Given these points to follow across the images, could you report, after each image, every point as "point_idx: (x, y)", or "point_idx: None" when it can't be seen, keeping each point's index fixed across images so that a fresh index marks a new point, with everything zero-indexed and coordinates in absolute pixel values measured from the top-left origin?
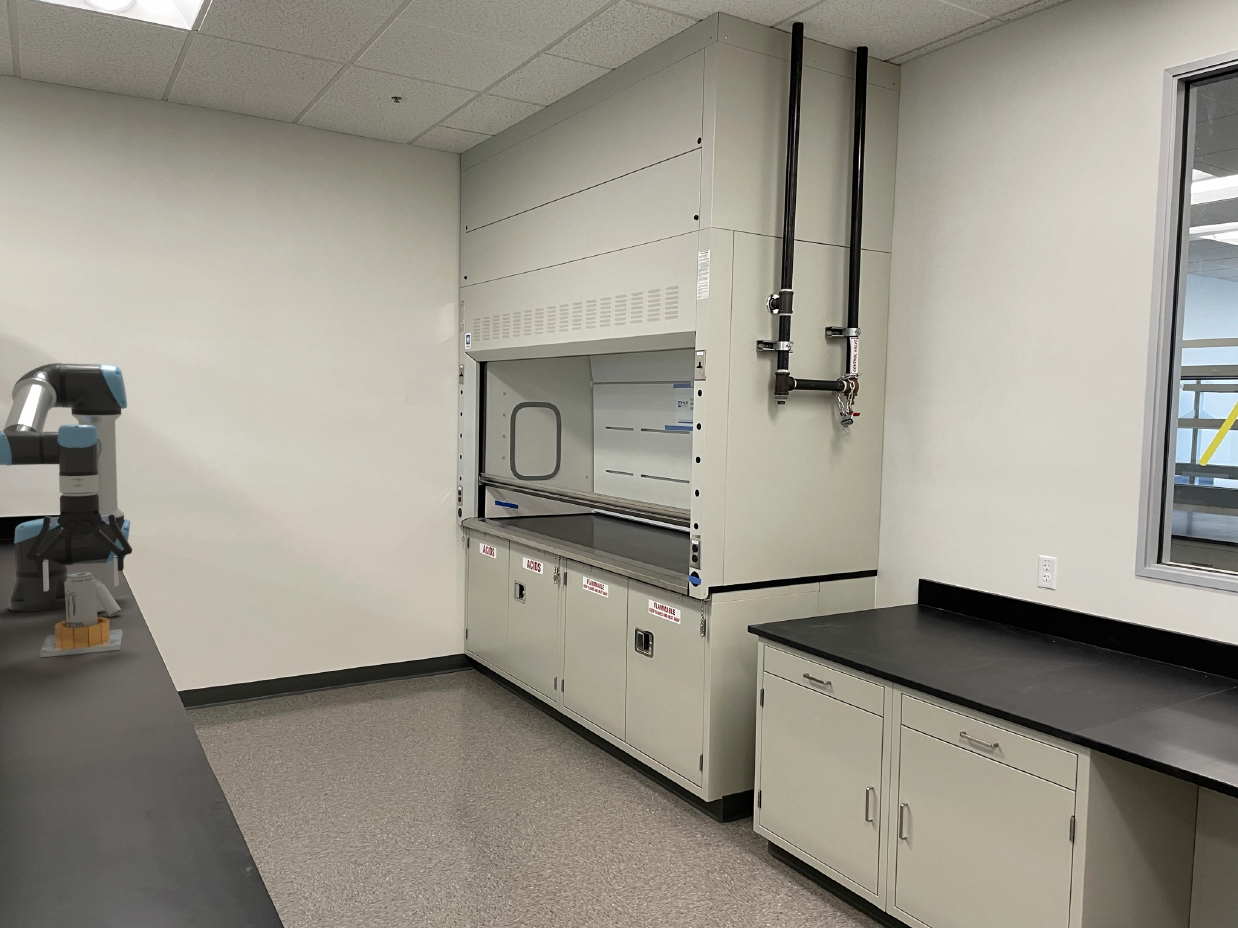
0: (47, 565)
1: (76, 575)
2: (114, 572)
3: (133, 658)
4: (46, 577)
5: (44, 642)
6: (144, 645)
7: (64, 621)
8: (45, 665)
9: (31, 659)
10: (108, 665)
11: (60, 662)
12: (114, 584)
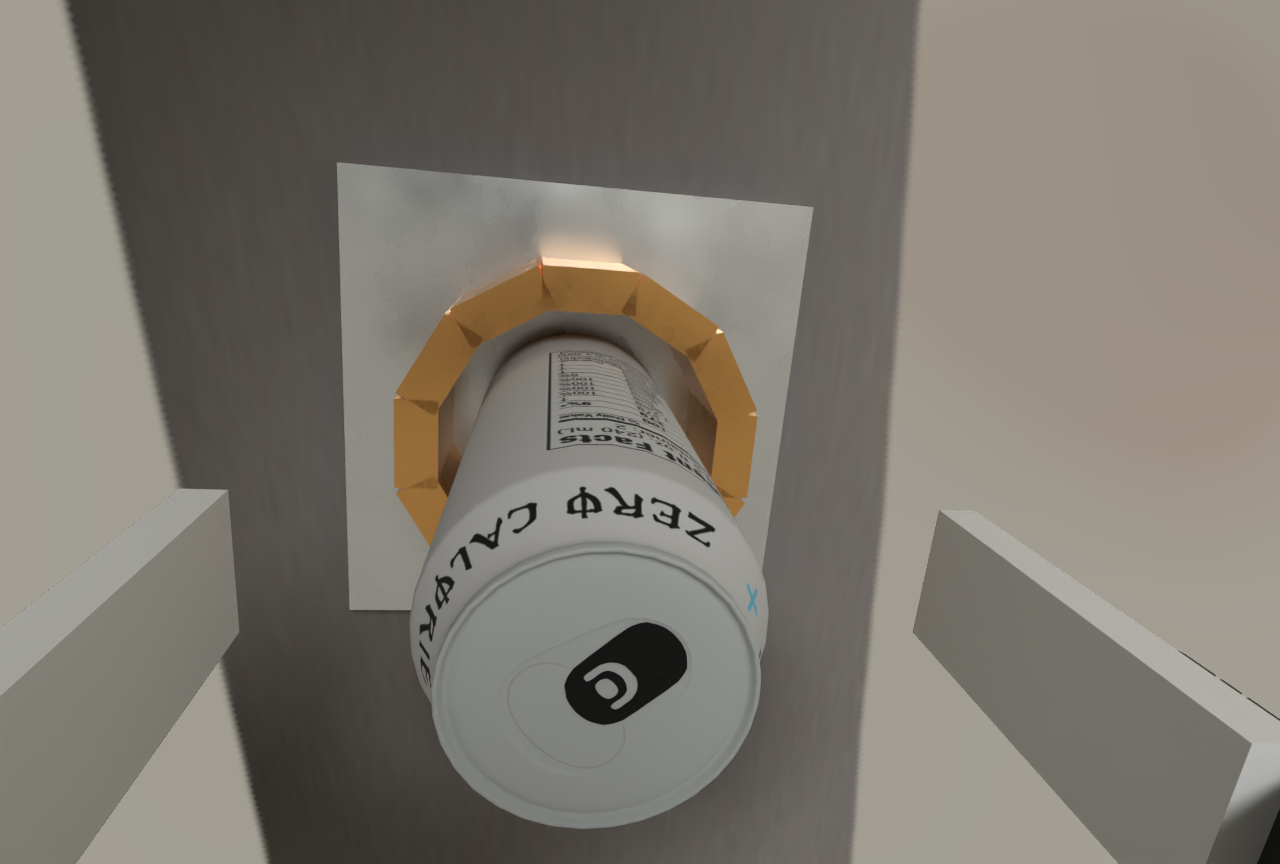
0: (18, 828)
1: (557, 732)
2: (1016, 738)
3: (785, 772)
4: (141, 751)
5: (343, 376)
6: (867, 554)
7: (449, 350)
8: (404, 752)
9: (316, 613)
10: (677, 844)
11: None
12: (926, 647)
